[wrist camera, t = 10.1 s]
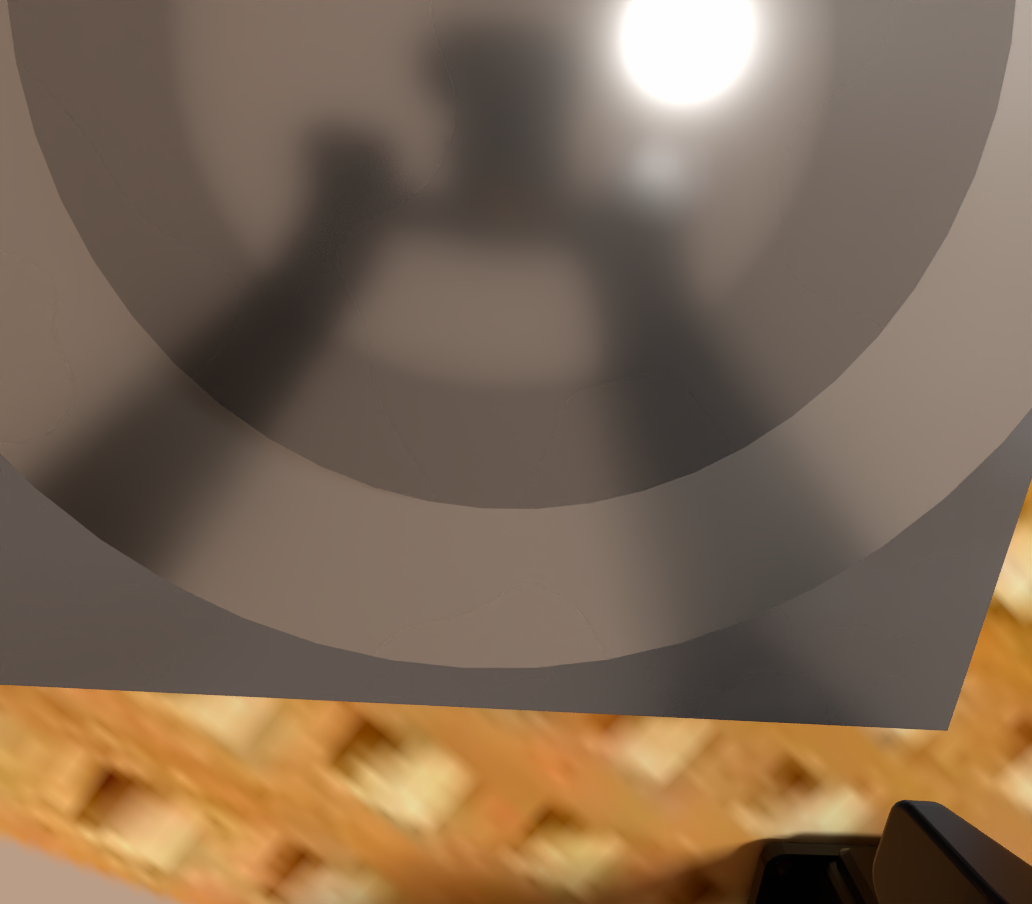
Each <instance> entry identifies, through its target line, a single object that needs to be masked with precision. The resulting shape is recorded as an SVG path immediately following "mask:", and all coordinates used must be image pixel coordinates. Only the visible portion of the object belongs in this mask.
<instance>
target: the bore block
mask: <svg viewBox="0 0 1032 904" xmlns="http://www.w3.org/2000/svg"><path fill="white" fill-rule="evenodd" d="M1031 479H1032V408H1031V410H1030V411H1029V412H1028V413H1027V414H1026V415H1025V417H1024V418H1023V419H1022V420H1021V421H1020V423H1019V424H1018V425H1017V426H1016V427H1015V429H1014V430H1013V431H1012V432H1011V433H1010V434H1009V436H1008V437H1007V438H1006V439H1005V440H1004V442H1003V443H1002V444H1001V445H1000V446H999V447H998V448H997V449H995V450H994V451H993V452H992V453H991V454H990V455H989V456H988V457H987V458H986V459H985V460H984V461H983V462H982V463H981V464H980V465H979V466H978V467H977V468H976V469H975V470H974V471H973V472H972V473H970V474H969V475H968V476H967V477H966V478H965V479H964V480H963V481H962V482H961V483H960V484H959V485H958V486H957V487H956V488H955V489H954V490H953V491H952V492H951V493H950V494H949V495H948V496H946V497H945V498H944V499H943V500H942V501H941V502H939V503H938V504H937V505H935V506H934V507H933V508H932V509H930V510H929V511H928V512H926V513H925V514H924V515H923V516H921V517H920V518H919V519H917V520H916V521H915V522H914V523H912V524H911V525H910V526H908V527H907V528H906V529H904V530H903V531H902V532H901V533H899V534H898V535H897V536H895V537H894V538H893V539H892V540H890V541H889V542H888V543H886V544H885V545H884V546H883V547H881V548H879V549H878V550H876V551H875V552H873V553H871V554H870V555H868V556H866V557H865V558H863V559H862V560H860V561H858V562H857V563H855V564H853V565H852V566H850V567H849V568H847V569H845V570H844V571H842V572H840V573H839V574H837V575H836V576H834V577H832V578H831V579H829V580H827V581H826V582H824V583H823V584H821V585H819V586H818V587H816V588H814V589H812V590H809V591H807V592H805V593H803V594H801V595H799V596H797V597H795V598H793V599H791V600H788V601H786V602H784V603H782V604H780V605H778V606H776V607H774V608H772V609H770V610H767V611H765V612H763V613H761V614H759V615H757V616H755V617H753V618H751V619H748V620H745V621H742V622H739V623H737V624H734V625H731V626H728V627H725V628H722V629H719V630H716V631H714V632H711V633H708V634H705V635H702V636H699V637H696V638H693V639H691V640H688V641H685V642H682V643H679V644H674V645H670V646H666V647H661V648H657V649H652V650H648V651H644V652H639V653H635V654H631V655H626V656H622V657H617V658H613V659H609V660H600V661H591V662H582V663H574V664H565V665H556V666H547V667H539V668H460V667H450V666H441V665H432V664H423V663H414V662H405V661H396V660H388V659H384V658H379V657H375V656H371V655H366V654H362V653H357V652H353V651H348V650H344V649H339V648H335V647H331V646H326V645H322V644H317V643H314V642H311V641H308V640H305V639H302V638H300V637H297V636H294V635H291V634H288V633H285V632H282V631H279V630H277V629H274V628H271V627H268V626H265V625H262V624H259V623H256V622H253V621H251V620H248V619H245V618H242V617H240V616H238V615H236V614H234V613H232V612H230V611H228V610H226V609H223V608H221V607H219V606H217V605H215V604H213V603H211V602H209V601H207V600H205V599H202V598H200V597H198V596H196V595H194V594H192V593H190V592H188V591H186V590H184V589H182V588H179V587H177V586H175V585H173V584H171V583H170V582H168V581H166V580H165V579H163V578H162V577H160V576H158V575H157V574H155V573H153V572H152V571H150V570H149V569H147V568H145V567H144V566H142V565H141V564H139V563H137V562H136V561H134V560H133V559H131V558H129V557H128V556H126V555H125V554H123V553H121V552H120V551H118V550H117V549H115V548H113V547H112V546H110V545H109V544H107V543H105V542H104V541H102V540H101V539H99V538H98V537H97V536H96V535H94V534H93V533H92V532H91V531H89V530H88V529H87V528H85V527H84V526H83V525H82V524H80V523H79V522H78V521H77V520H75V519H74V518H73V517H72V516H70V515H69V514H68V513H66V512H65V511H64V510H63V509H61V508H60V507H59V506H58V505H56V504H55V503H54V502H53V501H51V500H50V499H49V498H47V497H46V496H45V495H44V494H42V493H41V492H40V491H39V490H37V489H36V488H35V487H34V486H33V485H32V484H31V483H30V482H29V481H28V480H27V479H26V478H25V477H23V476H22V475H21V474H20V473H19V472H18V471H17V470H16V469H15V468H14V467H13V466H12V465H11V464H10V463H9V462H8V461H7V460H6V459H5V458H4V457H3V456H2V455H1V454H0V685H20V686H40V687H61V688H81V689H102V690H122V691H143V692H164V693H184V694H205V695H225V696H246V697H266V698H287V699H307V700H328V701H348V702H369V703H389V704H410V705H430V706H451V707H472V708H492V709H513V710H533V711H554V712H574V713H595V714H615V715H636V716H656V717H677V718H697V719H718V720H738V721H759V722H779V723H800V724H821V725H841V726H862V727H882V728H903V729H923V730H944V731H947V730H948V727H949V724H950V721H951V718H952V715H953V712H954V709H955V706H956V703H957V700H958V697H959V694H960V691H961V688H962V685H963V682H964V679H965V676H966V673H967V670H968V667H969V664H970V661H971V658H972V655H973V652H974V649H975V646H976V643H977V640H978V637H979V634H980V631H981V628H982V625H983V622H984V619H985V616H986V613H987V610H988V607H989V604H990V601H991V598H992V595H993V592H994V589H995V586H996V583H997V580H998V577H999V574H1000V571H1001V568H1002V565H1003V562H1004V559H1005V556H1006V553H1007V550H1008V547H1009V545H1010V542H1011V539H1012V536H1013V533H1014V530H1015V527H1016V524H1017V521H1018V518H1019V515H1020V512H1021V509H1022V506H1023V503H1024V500H1025V497H1026V494H1027V491H1028V488H1029V485H1030V482H1031Z"/></svg>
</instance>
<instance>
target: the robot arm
mask: <svg viewBox="0 0 1032 904" xmlns="http://www.w3.org/2000/svg"><path fill="white" fill-rule="evenodd" d="M779 861H782V862H781V863H778V862H779ZM776 863H777V864H776ZM748 904H1032V866H1030V865H1029V864H1028V863H1026V862H1025V861H1023V860H1022V859H1020V858H1019V857H1017V856H1016V855H1014V854H1013V853H1012V852H1010V851H1009V850H1007V849H1006V848H1004V847H1003V846H1001V845H1000V844H998V843H997V842H996V841H994V840H993V839H991V838H990V837H988V836H987V835H985V834H984V833H982V832H981V831H980V830H978V829H977V828H975V827H974V826H972V825H971V824H969V823H968V822H966V821H965V820H964V819H962V818H961V817H959V816H958V815H956V814H955V813H953V812H952V811H950V810H949V809H948V808H946V807H945V806H943V805H941V804H939V803H936V802H930V801H912V800H902V801H899V802H897V803H896V804H895V805H894V806H893V807H892V808H891V811H890V813H889V816H888V819H887V822H886V825H885V828H884V831H883V834H882V837H881V840H880V843H879V846H869V845H840V844H810V843H774V844H772V845H769V846H767V847H766V848H765V849H764V850H763V851H762V853H761V855H760V858H759V862H758V865H757V869H756V873H755V877H754V881H753V884H752V888H751V892H750V896H749V900H748Z"/></svg>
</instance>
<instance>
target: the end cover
mask: <svg viewBox="0 0 1032 904" xmlns="http://www.w3.org/2000/svg"><path fill="white" fill-rule="evenodd" d="M1031 408H1032V0H0V454H1V455H2V456H3V457H4V458H5V459H6V460H7V461H8V462H9V463H10V464H11V465H12V466H13V467H14V468H15V469H16V470H17V471H18V472H19V473H20V474H21V475H22V476H23V477H25V478H26V479H27V480H28V481H29V482H30V483H31V484H32V485H33V486H34V487H35V488H36V489H37V490H39V491H40V492H41V493H42V494H44V495H45V496H46V497H47V498H49V499H50V500H51V501H53V502H54V503H55V504H56V505H58V506H59V507H60V508H61V509H63V510H64V511H65V512H66V513H68V514H69V515H70V516H72V517H73V518H74V519H75V520H77V521H78V522H79V523H80V524H82V525H83V526H84V527H85V528H87V529H88V530H89V531H91V532H92V533H93V534H94V535H96V536H97V537H98V538H99V539H101V540H102V541H104V542H105V543H107V544H109V545H110V546H112V547H113V548H115V549H117V550H118V551H120V552H121V553H123V554H125V555H126V556H128V557H129V558H131V559H133V560H134V561H136V562H137V563H139V564H141V565H142V566H144V567H145V568H147V569H149V570H150V571H152V572H153V573H155V574H157V575H158V576H160V577H162V578H163V579H165V580H166V581H168V582H170V583H171V584H173V585H175V586H177V587H179V588H182V589H184V590H186V591H188V592H190V593H192V594H194V595H196V596H198V597H200V598H202V599H205V600H207V601H209V602H211V603H213V604H215V605H217V606H219V607H221V608H223V609H226V610H228V611H230V612H232V613H234V614H236V615H238V616H240V617H242V618H245V619H248V620H251V621H253V622H256V623H259V624H262V625H265V626H268V627H271V628H274V629H277V630H279V631H282V632H285V633H288V634H291V635H294V636H297V637H300V638H302V639H305V640H308V641H311V642H314V643H317V644H322V645H326V646H331V647H335V648H339V649H344V650H348V651H353V652H357V653H362V654H366V655H371V656H375V657H379V658H384V659H388V660H396V661H405V662H414V663H423V664H432V665H441V666H450V667H460V668H539V667H547V666H556V665H565V664H574V663H582V662H591V661H600V660H609V659H613V658H617V657H622V656H626V655H631V654H635V653H639V652H644V651H648V650H652V649H657V648H661V647H666V646H670V645H674V644H679V643H682V642H685V641H688V640H691V639H693V638H696V637H699V636H702V635H705V634H708V633H711V632H714V631H716V630H719V629H722V628H725V627H728V626H731V625H734V624H737V623H739V622H742V621H745V620H748V619H751V618H753V617H755V616H757V615H759V614H761V613H763V612H765V611H767V610H770V609H772V608H774V607H776V606H778V605H780V604H782V603H784V602H786V601H788V600H791V599H793V598H795V597H797V596H799V595H801V594H803V593H805V592H807V591H809V590H812V589H814V588H816V587H818V586H819V585H821V584H823V583H824V582H826V581H827V580H829V579H831V578H832V577H834V576H836V575H837V574H839V573H840V572H842V571H844V570H845V569H847V568H849V567H850V566H852V565H853V564H855V563H857V562H858V561H860V560H862V559H863V558H865V557H866V556H868V555H870V554H871V553H873V552H875V551H876V550H878V549H879V548H881V547H883V546H884V545H885V544H886V543H888V542H889V541H890V540H892V539H893V538H894V537H895V536H897V535H898V534H899V533H901V532H902V531H903V530H904V529H906V528H907V527H908V526H910V525H911V524H912V523H914V522H915V521H916V520H917V519H919V518H920V517H921V516H923V515H924V514H925V513H926V512H928V511H929V510H930V509H932V508H933V507H934V506H935V505H937V504H938V503H939V502H941V501H942V500H943V499H944V498H945V497H946V496H948V495H949V494H950V493H951V492H952V491H953V490H954V489H955V488H956V487H957V486H958V485H959V484H960V483H961V482H962V481H963V480H964V479H965V478H966V477H967V476H968V475H969V474H970V473H972V472H973V471H974V470H975V469H976V468H977V467H978V466H979V465H980V464H981V463H982V462H983V461H984V460H985V459H986V458H987V457H988V456H989V455H990V454H991V453H992V452H993V451H994V450H995V449H997V448H998V447H999V446H1000V445H1001V444H1002V443H1003V442H1004V440H1005V439H1006V438H1007V437H1008V436H1009V434H1010V433H1011V432H1012V431H1013V430H1014V429H1015V427H1016V426H1017V425H1018V424H1019V423H1020V421H1021V420H1022V419H1023V418H1024V417H1025V415H1026V414H1027V413H1028V412H1029V411H1030V410H1031Z"/></svg>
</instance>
